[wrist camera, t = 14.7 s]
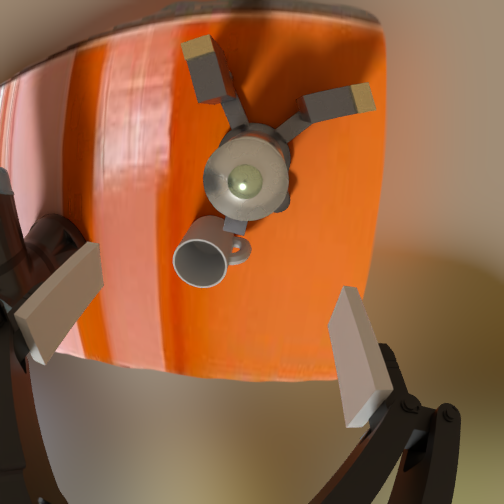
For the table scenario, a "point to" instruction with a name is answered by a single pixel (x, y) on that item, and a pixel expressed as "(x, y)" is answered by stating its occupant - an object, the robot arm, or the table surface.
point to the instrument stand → (250, 168)
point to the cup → (208, 252)
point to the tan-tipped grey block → (336, 103)
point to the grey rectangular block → (208, 70)
